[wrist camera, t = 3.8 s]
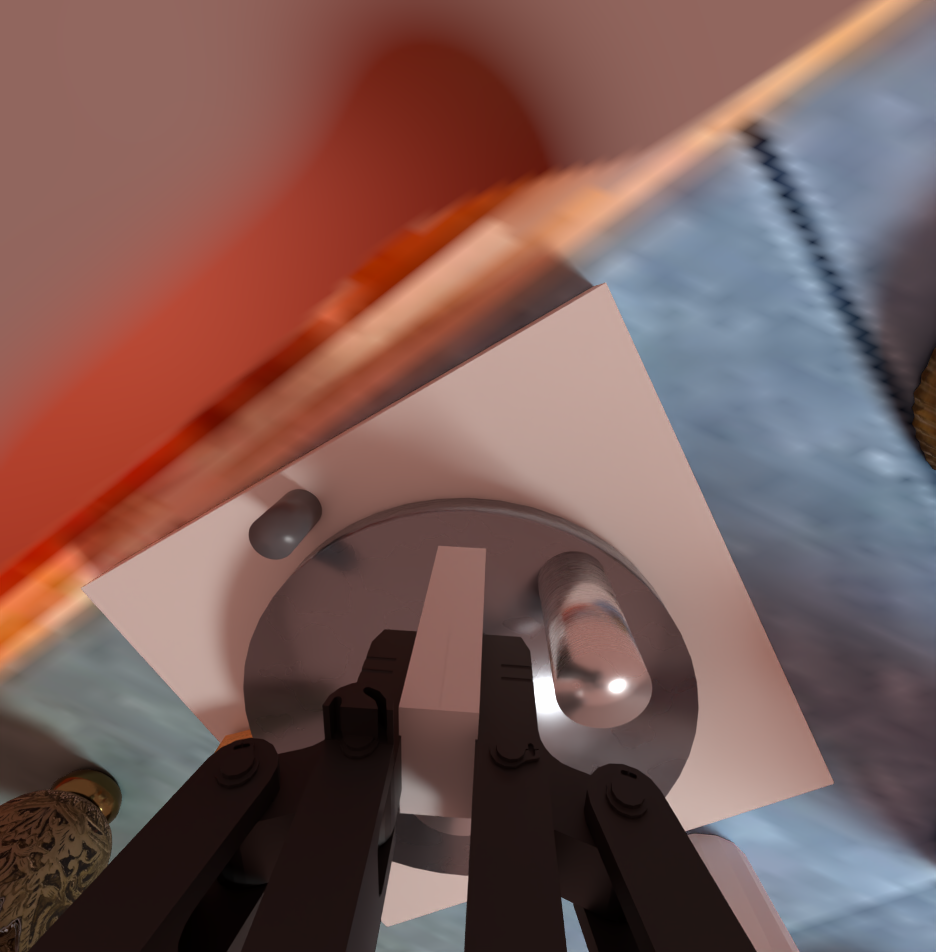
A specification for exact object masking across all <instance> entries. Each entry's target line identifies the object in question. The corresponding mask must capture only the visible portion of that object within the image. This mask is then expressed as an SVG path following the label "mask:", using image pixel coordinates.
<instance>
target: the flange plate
mask: <svg viewBox="0 0 936 952" xmlns="http://www.w3.org/2000/svg"><path fill="white" fill-rule="evenodd" d="M438 546H451V547H468V548H485V549H486V562H485V586H484V610H483V634H486V635H501V636H517V637H521V638H522V639H523V641H524V642H525V644H526V645H527V647H528V648H529V650H530V652H531V662H532V672H533V682H534V692H535V702H536V712H537V721H538V731H539V735H540V739H541V741H542V743H543V745H544V746H545V748H546V749H547V750H548V751H549V753H550V754H551V755H552V756H553V757H555V758H556V759H557V760H559V761H560V762H561V763H563V764H565V765H567V766H569V767H571V768H574V769H577V770H579V771H582V772H585V773H587V774H590V775H591V774H592V773H593V772H594V771H595V770H596V769H597V768H598V767H601V766H603V765H606V764H609V763H611V764H625V765H627V766H630V767H633V768H636V769H638V770H639V771H641V772H642V773H644V774H645V775H646V776H648V777H649V778H651V779H652V780H653V782H654V783H655V784H656V785H657V787H658V788H659V789H660V790H661V791H662V793H663V795H664V797H666V796H667V795H668V793H669V792H670V790H671V789H672V787H673V786H674V784H675V783H676V781H677V780H678V778H679V777H680V774H681V772H682V770H683V768H684V766H685V764H686V762H687V760H688V757H689V755H690V752H691V748H692V745H693V741H694V738H695V734H696V728H697V719H698V710H699V705H698V688H697V680H696V676H695V672H694V667H693V663H692V659H691V656H690V654H689V652H688V649H687V647H686V644H685V642H684V640H683V637H682V635H681V633H680V631H679V629H678V628H677V626H676V624H675V622H674V621H673V619H672V617H671V615H670V614H669V612H668V610H667V609H666V607H665V605H664V604H663V602H662V601H661V599H660V597H659V596H658V594H657V592H656V591H655V589H654V588H653V586H652V585H651V584H650V583H649V582H648V580H647V579H646V578H645V577H644V576H643V575H642V573H641V572H640V571H639V570H638V569H637V568H636V566H635V565H633V564H632V563H631V562H630V561H629V560H628V559H627V558H625V557H624V556H623V555H622V554H621V553H620V552H619V551H618V550H616V549H615V548H614V547H613V546H611V545H610V544H608V543H607V542H605V541H604V540H602V539H601V538H599V537H598V536H596V535H595V534H593V533H592V532H590V531H589V530H587V529H584V528H582V527H580V526H578V525H576V524H574V523H572V522H570V521H568V520H566V519H564V518H562V517H559V516H557V515H554V514H551V513H548V512H545V511H542V510H539V509H536V508H533V507H529V506H525V505H520V504H515V503H510V502H505V501H501V500H490V499H478V498H448V499H433V500H427V501H421V502H415V503H409V504H404V505H401V506H398V507H394V508H391V509H387V510H384V511H381V512H377V513H375V514H373V515H371V516H368V517H366V518H364V519H362V520H359V521H357V522H355V523H353V524H351V525H349V526H347V527H346V528H344V529H342V530H341V531H339V532H338V533H336V534H335V535H333V536H331V537H330V538H328V539H327V540H325V541H324V542H323V543H322V544H321V545H319V546H318V547H317V548H316V549H315V550H314V551H312V552H311V553H310V554H309V555H308V556H307V557H306V558H305V559H304V560H303V561H302V562H301V563H300V564H299V566H298V567H297V568H296V569H295V570H294V571H293V573H292V574H291V575H290V576H289V577H288V579H287V580H286V581H285V582H284V584H283V585H282V586H281V587H280V589H279V590H278V591H277V593H276V594H275V595H274V596H273V598H272V600H271V601H270V603H269V604H268V606H267V608H266V609H265V611H264V612H263V614H262V616H261V617H260V619H259V621H258V624H257V626H256V628H255V631H254V633H253V636H252V638H251V640H250V644H249V648H248V652H247V657H246V661H245V666H244V683H243V692H244V702H245V712H246V716H247V719H248V723H249V727H250V730H246V731H242V732H238V733H234V734H230V735H226V736H225V737H224V739H223V740H222V742H221V743H220V745H219V746H218V748H217V750H216V751H218V750H219V749H220V748H221V747H223V746H225V745H228V744H230V743H232V742H234V741H236V740H241V739H246V738H259V739H264V740H266V741H268V742H269V743H271V744H273V745H274V747H275V749H276V751H277V753H278V754H280V753H285V752H289V751H294V750H299V749H303V748H306V747H310V746H313V745H315V744H317V743H319V742H321V741H323V740H324V739H325V735H324V722H323V709H322V705H323V703H324V702H325V701H326V699H327V698H328V696H329V695H330V694H332V693H333V692H334V691H336V690H337V689H339V688H340V687H343V686H346V685H348V684H351V683H357V680H358V677H359V675H360V672H361V671H362V667H363V664H364V661H365V659H366V656H367V653H368V651H369V648H370V645H371V643H372V641H373V640H374V639H375V638H376V637H377V636H378V635H379V634H380V633H381V632H382V631H383V630H384V629H390V630H405V631H418V627H419V623H420V618H421V614H422V610H423V606H424V602H425V598H426V594H427V590H428V586H429V582H430V578H431V574H432V570H433V566H434V562H435V558H436V553H437V549H438ZM216 751H215V752H216ZM470 832H471V819H467V818H455V817H442V816H430V815H418V814H405V813H400V802H399V807H398V812H397V817H396V822H395V847H394V853H393V858H392V862H395V863H399V864H402V865H406V866H409V867H412V868H416V869H421V870H426V871H432V872H437V873H443V874H453V875H462V876H468V869H469V851H470Z"/></svg>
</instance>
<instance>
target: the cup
mask: <svg viewBox="0 0 936 952" xmlns="http://www.w3.org/2000/svg"><path fill="white" fill-rule="evenodd" d="M121 802H122V794H121V791H120V788H119V787H118V785H117V784H116V783H115V782H114V781H113V780H112V779H111V778H110V777H108V776H107V775H105V774H103V773H101V772H98V771H95V770H90V769H80V770H75V771H72V772H70V773H68V774H66V775H65V776H63V777H61V778H60V779H58V780H57V781H56V782H55V783H54V784H53V785H52V787H51V789H50V790H40V791H35V792H31V793H27V794H24V795H21V796H19V797H16V798H14V799H12V800H10V801H8V802H6V803H4V804H2V805H1V806H0V952H27V951H28V950H29V949H30V948H31V947H32V946H33V945H34V944H35V943H36V942H37V941H38V940H39V939H40V937H41V936H42V935H43V934H44V933H45V932H46V931H47V930H48V929H49V928H50V927H51V926H52V925H53V924H54V922H55V921H56V920H57V919H58V918H59V917H60V916H61V915H62V914H63V913H64V912H65V911H66V910H67V909H68V908H69V906H70V905H71V904H72V903H73V902H74V901H75V900H76V899H77V898H78V897H79V896H80V895H81V894H82V893H83V891H84V890H85V889H86V888H87V887H88V886H89V885H90V884H91V883H92V882H93V881H94V880H95V879H96V878H97V877H98V875H99V874H100V873H101V872H102V871H103V870H104V869H105V868H106V867H107V866H108V862H109V859H110V855H111V849H112V833H111V829H110V826H109V823H111V822H112V821H113V820H114V819H115V818H116V816H117V814H118V812H119V809H120V806H121Z"/></svg>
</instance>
